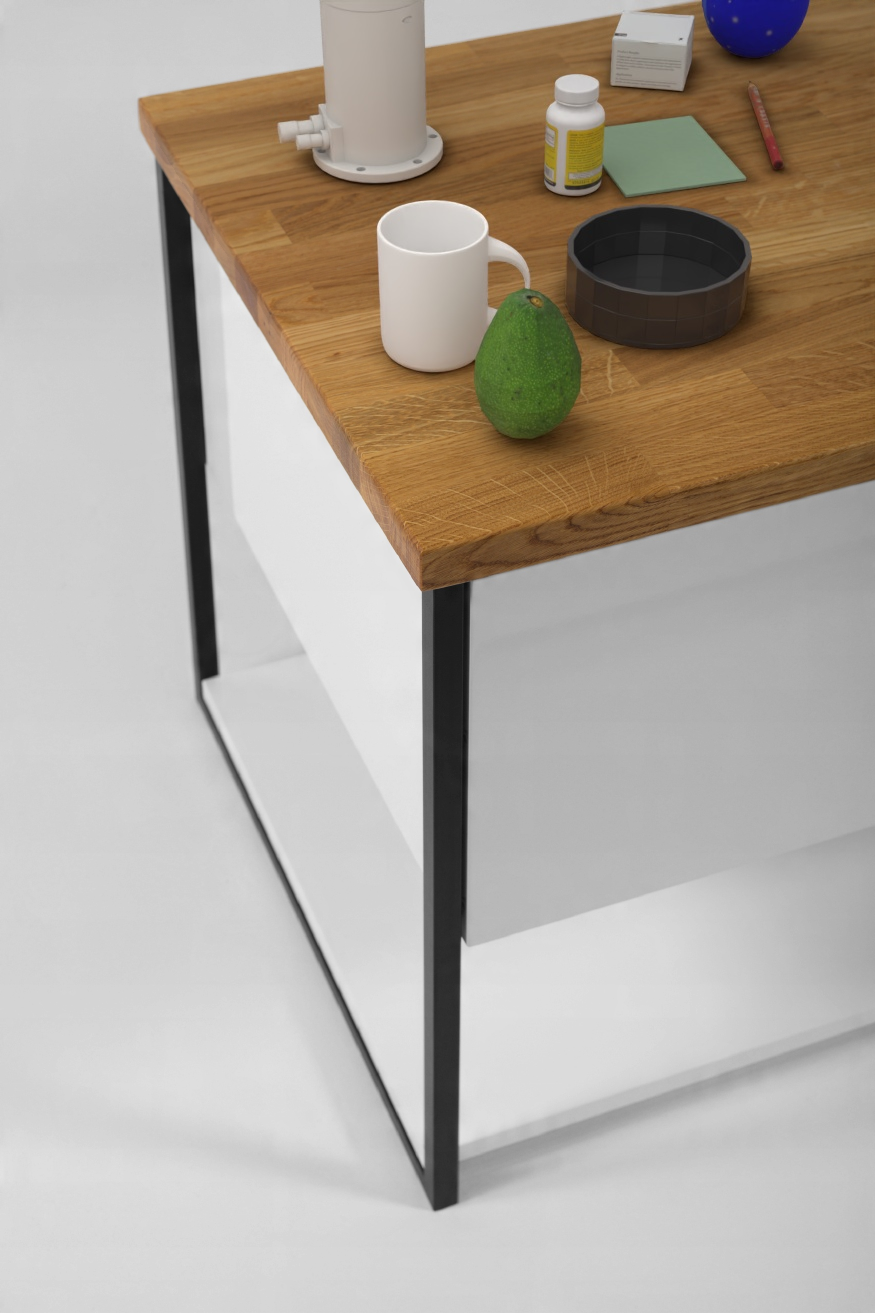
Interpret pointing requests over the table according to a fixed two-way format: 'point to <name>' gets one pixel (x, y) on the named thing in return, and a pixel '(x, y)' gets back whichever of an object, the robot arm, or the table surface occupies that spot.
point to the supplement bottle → (574, 137)
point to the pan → (657, 276)
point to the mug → (437, 283)
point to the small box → (652, 50)
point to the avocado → (527, 367)
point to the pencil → (765, 126)
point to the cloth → (665, 157)
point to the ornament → (754, 24)
